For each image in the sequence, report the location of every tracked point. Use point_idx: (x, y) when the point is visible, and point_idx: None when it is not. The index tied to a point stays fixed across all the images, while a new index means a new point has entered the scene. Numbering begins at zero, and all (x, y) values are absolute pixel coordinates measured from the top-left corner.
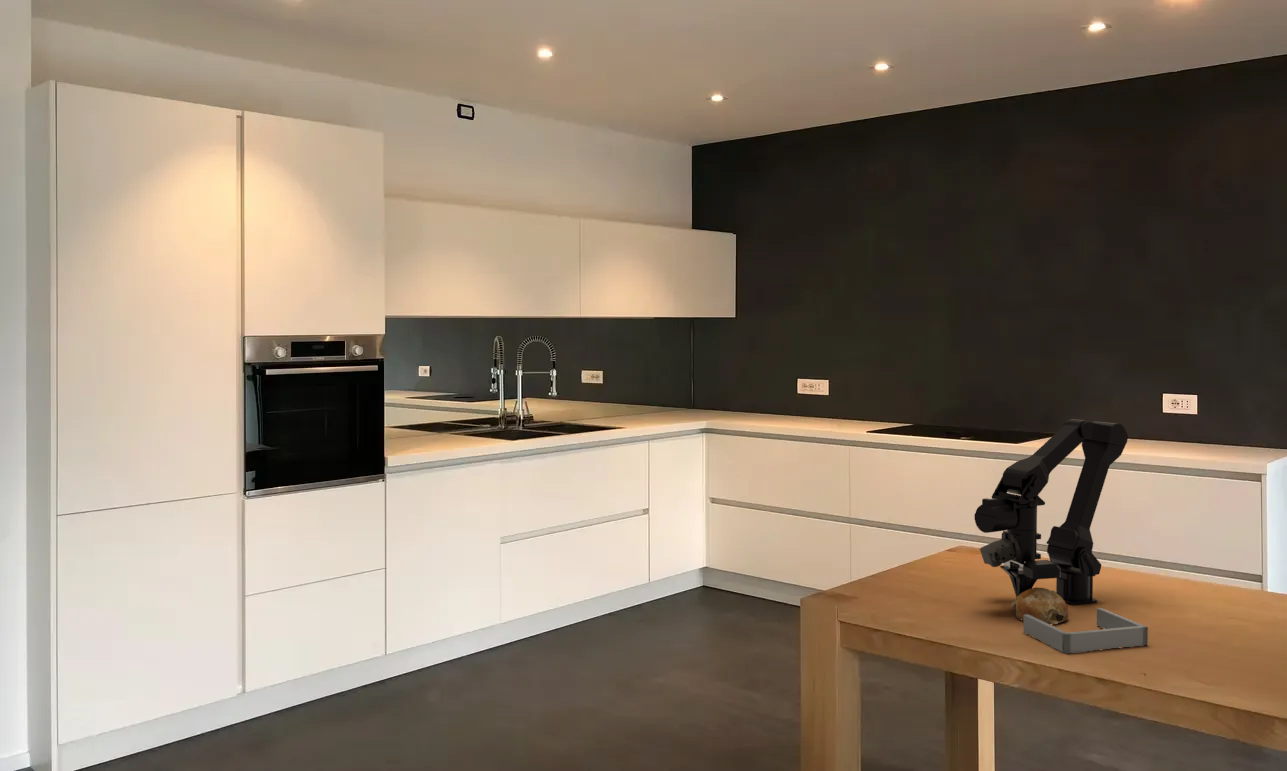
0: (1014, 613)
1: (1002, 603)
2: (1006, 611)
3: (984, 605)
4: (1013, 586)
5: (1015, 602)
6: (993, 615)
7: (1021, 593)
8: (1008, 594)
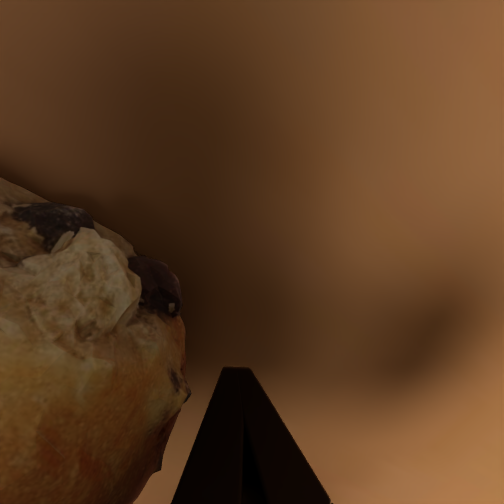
0: (75, 208)
1: (399, 319)
2: (242, 233)
3: (453, 185)
4: (317, 493)
5: (35, 279)
6: (177, 25)
7: (15, 447)
8: (479, 419)
